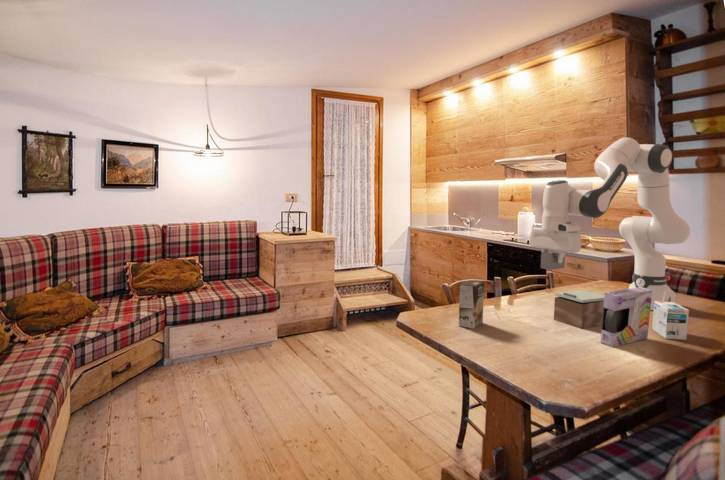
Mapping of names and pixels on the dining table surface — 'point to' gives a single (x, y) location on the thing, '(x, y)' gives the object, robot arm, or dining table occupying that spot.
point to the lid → (581, 296)
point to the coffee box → (471, 304)
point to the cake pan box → (625, 316)
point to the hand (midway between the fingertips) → (552, 261)
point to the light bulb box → (670, 320)
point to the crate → (578, 312)
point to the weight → (551, 260)
